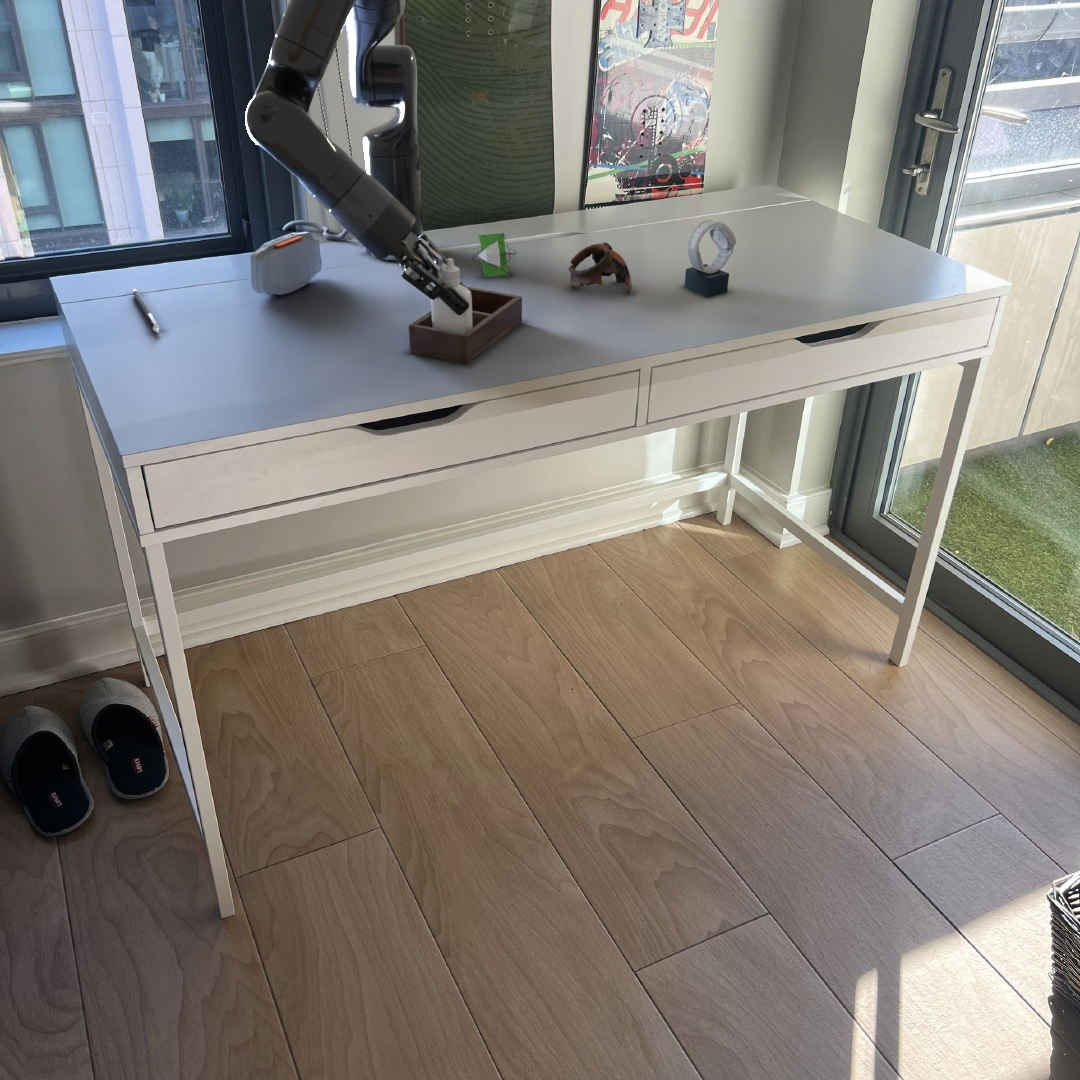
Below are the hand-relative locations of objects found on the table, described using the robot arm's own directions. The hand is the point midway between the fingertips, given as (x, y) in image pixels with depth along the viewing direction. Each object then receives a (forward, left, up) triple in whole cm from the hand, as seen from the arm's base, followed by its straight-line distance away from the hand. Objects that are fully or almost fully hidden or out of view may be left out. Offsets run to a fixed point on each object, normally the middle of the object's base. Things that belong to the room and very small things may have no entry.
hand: (465, 304), depth 147 cm
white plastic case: (-37, +8, -7) cm, 38 cm away
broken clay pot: (+8, +31, -7) cm, 33 cm away
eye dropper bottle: (-2, -1, -6) cm, 6 cm away
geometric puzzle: (-11, +29, -7) cm, 32 cm away
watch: (+23, +38, -7) cm, 45 cm away
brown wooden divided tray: (-2, +3, -6) cm, 7 cm away
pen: (-49, -10, -7) cm, 51 cm away
